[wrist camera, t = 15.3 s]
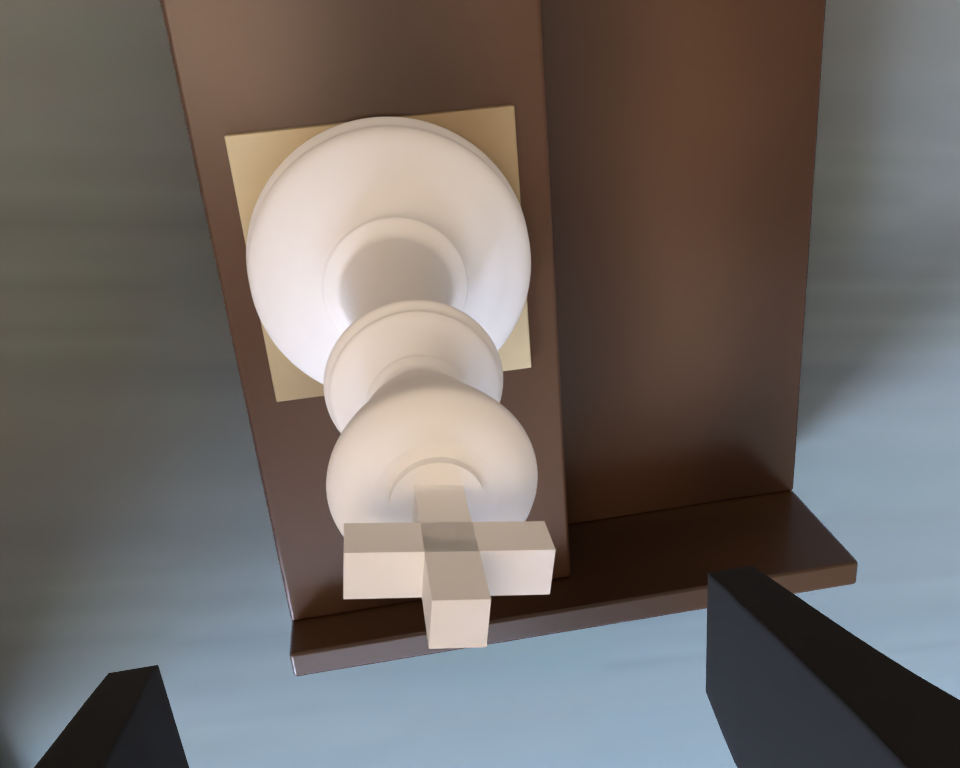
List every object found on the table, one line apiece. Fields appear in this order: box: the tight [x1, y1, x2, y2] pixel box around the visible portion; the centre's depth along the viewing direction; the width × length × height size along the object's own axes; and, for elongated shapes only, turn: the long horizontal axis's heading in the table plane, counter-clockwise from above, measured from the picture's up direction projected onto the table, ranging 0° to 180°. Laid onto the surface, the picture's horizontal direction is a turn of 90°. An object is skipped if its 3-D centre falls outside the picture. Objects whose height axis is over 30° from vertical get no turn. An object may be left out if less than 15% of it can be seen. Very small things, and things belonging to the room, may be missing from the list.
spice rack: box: [160, 0, 858, 676], centre depth 17 cm, size 12×16×5 cm
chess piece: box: [246, 117, 556, 649], centre depth 11 cm, size 5×5×10 cm
